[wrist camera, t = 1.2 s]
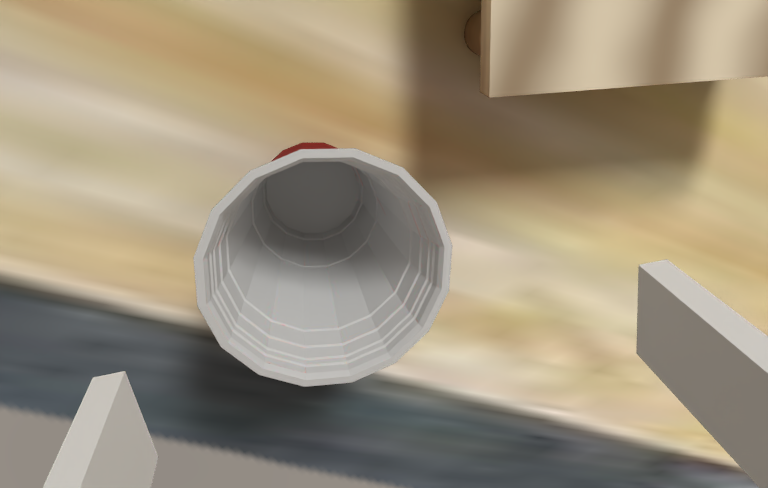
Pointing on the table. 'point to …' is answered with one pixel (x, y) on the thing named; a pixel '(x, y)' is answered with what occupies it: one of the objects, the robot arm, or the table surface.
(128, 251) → the table surface
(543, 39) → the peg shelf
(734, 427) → the robot arm
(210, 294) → the plastic cup
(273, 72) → the table surface
